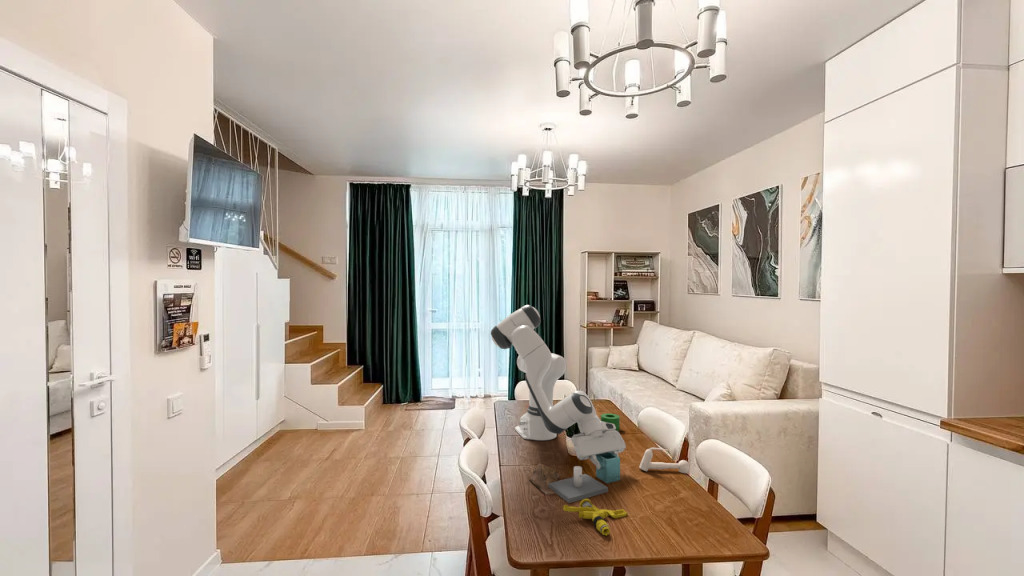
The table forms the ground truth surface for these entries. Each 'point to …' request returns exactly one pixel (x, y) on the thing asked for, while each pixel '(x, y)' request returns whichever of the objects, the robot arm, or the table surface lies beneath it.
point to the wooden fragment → (544, 478)
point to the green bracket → (611, 420)
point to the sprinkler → (595, 514)
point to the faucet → (661, 463)
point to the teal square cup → (608, 467)
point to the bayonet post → (578, 487)
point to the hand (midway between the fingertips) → (609, 466)
